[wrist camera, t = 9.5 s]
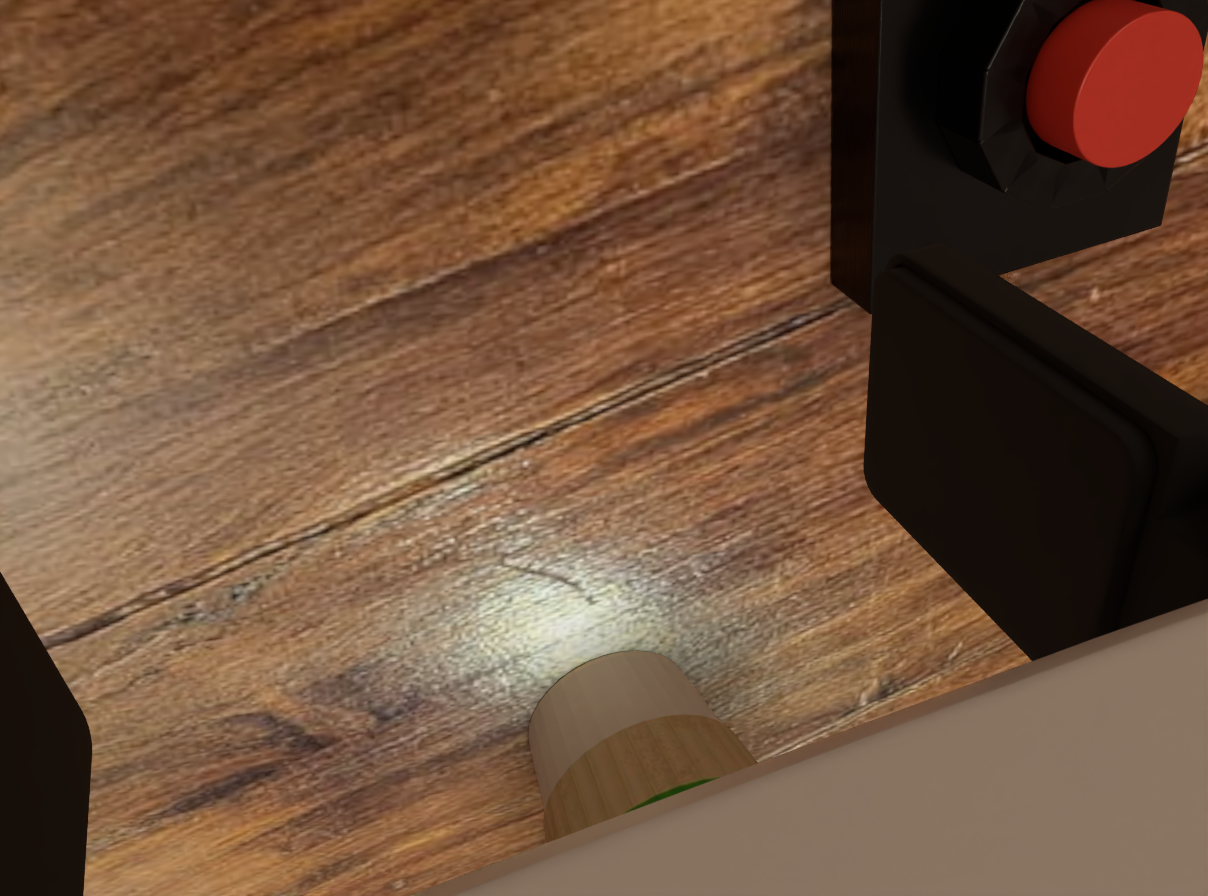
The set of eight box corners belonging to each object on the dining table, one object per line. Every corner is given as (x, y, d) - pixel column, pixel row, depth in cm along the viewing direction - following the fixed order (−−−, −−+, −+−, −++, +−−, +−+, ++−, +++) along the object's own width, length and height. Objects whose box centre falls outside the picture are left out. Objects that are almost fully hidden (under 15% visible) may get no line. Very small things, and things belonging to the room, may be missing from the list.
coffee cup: (756, 595, 37) (1032, 982, 26) (704, 783, 42) (915, 1178, 31) (490, 629, 34) (670, 1096, 22) (467, 830, 39) (604, 1298, 27)
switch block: (833, -180, 24) (935, -169, 21) (1188, -249, 26) (1329, -248, 23) (830, 284, 31) (906, 344, 28) (1109, 201, 33) (1209, 248, 30)
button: (1033, 13, 24) (1086, 29, 23) (1161, -19, 25) (1219, -5, 24) (1016, 161, 26) (1064, 184, 25) (1135, 128, 27) (1186, 148, 26)
